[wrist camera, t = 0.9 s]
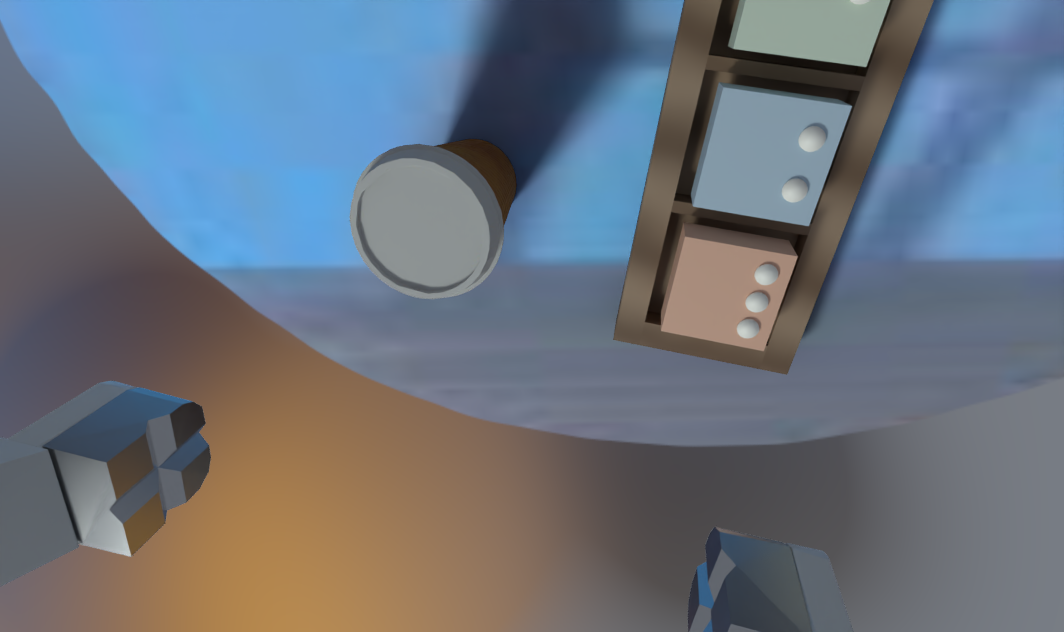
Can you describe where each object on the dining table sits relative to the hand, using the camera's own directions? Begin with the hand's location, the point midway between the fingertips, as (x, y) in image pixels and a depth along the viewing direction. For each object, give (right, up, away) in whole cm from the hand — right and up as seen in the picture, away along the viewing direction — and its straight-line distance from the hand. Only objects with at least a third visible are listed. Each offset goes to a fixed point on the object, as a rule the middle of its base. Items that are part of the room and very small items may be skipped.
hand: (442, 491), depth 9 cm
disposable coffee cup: (-3, +13, +36) cm, 38 cm away
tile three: (+15, +5, +32) cm, 36 cm away
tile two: (+16, +13, +28) cm, 35 cm away
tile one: (+17, +21, +24) cm, 36 cm away
